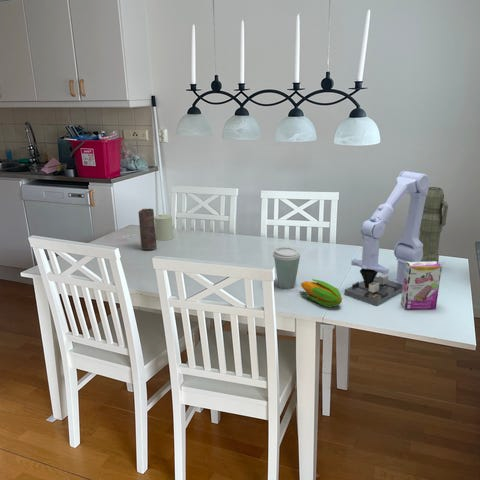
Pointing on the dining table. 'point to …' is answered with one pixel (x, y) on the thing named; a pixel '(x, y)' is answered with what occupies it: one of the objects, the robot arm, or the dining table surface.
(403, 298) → the candy bar box
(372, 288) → the fader tab
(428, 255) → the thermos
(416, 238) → the robot arm
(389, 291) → the console
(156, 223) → the can
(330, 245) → the dining table surface
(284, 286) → the disposable coffee cup
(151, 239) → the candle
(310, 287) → the corn
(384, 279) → the fader
